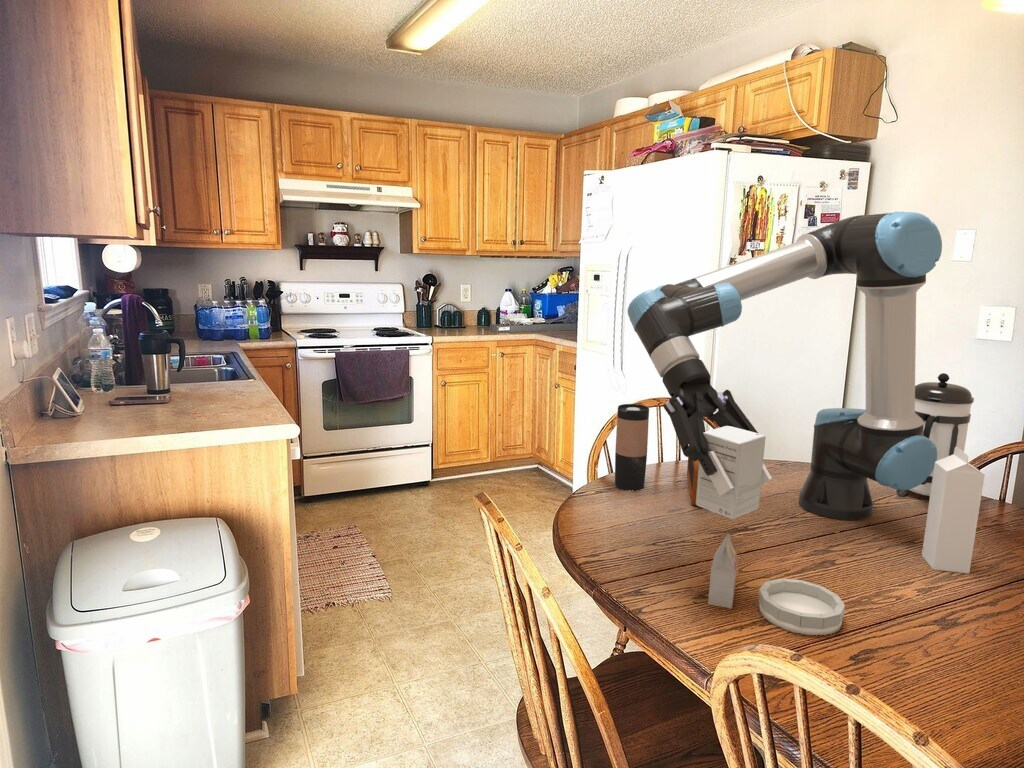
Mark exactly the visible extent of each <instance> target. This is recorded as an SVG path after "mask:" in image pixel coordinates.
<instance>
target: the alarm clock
mask: <svg viewBox="0 0 1024 768" xmlns="http://www.w3.org/2000/svg"><path fill="white" fill-rule="evenodd" d="M698 469H699V460H697V461H693V460H692V459H691V456H689V457H687V468H686V470H687V471H686V474H687V475H686V476H687V483H688V488H689V495H690V496H689V497H690V502H691V505H692V506H693V505H695V506H694V507H698V506H697V505H696V495H697V482H698Z"/></svg>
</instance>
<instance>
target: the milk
mask: <svg viewBox="0 0 1024 768" xmlns="http://www.w3.org/2000/svg"><path fill="white" fill-rule="evenodd" d="M984 483H985V473H984V472H982V471H980V470H979V469H978V468H977V467H975V466H974V465H972V464H971V463H969V454H967V453H966V452H965V451H964V452H963V451H961V450H960V449H958V448H957V447H955V449H954V454H953V455H951V456H948V457H946V458H943V459H941V460H938V461H936V462H935V464H934V471H933V479H932V486H931V493H930V496H929V501H928V508H927V516H926V520H925V521H926V523H925V530H924V537H923V543H922V551H921V556H922V558H923V559H924V560H925V563H927V564H928V565H929V567H930V568H931V569H932V570H933V571H944V572H951V573H952V572H953V573H959V574H970V572H971V566H972V559H973V553H974V547H975V539H976V533H977V527H978V520H979V519H978V518H979V513H980V509H981V508H980V506H981V501H982V495H983V494H982V493H983V488H984V487H983V486H984Z"/></svg>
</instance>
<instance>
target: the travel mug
mask: <svg viewBox="0 0 1024 768" xmlns="http://www.w3.org/2000/svg"><path fill="white" fill-rule="evenodd" d="M649 417H650V407H648V406H646V405H644V404H635V403H623V404H620V405H619V404H618V406H617V417H616V434H615V435H616V436H615V448H614V449H615V455H614V457H615V458H614V486H615V488H617V489H618V488H619V490H621V489H623V490H622V491H626V490H631V491H630V492H637V491H636V490H639V491H642V490H643V489H644V488H645V482H646V481H645V480H646V469H647V461H648V441H649V439H648V438H649V422H650V421H649ZM641 489H642V490H641ZM632 490H633V491H632Z"/></svg>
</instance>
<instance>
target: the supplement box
mask: <svg viewBox="0 0 1024 768" xmlns="http://www.w3.org/2000/svg"><path fill="white" fill-rule="evenodd" d="M705 431H706V432H704V433H703V434H704V436H705V437H706V439H707V443H708V449H709V451H708V453H709V452H710V451H714V452H715V454H716V456H717V457H718V459H719V461H720V463H721V465H722V467H723V469H724V470H725V472H726V474H727V476H728V478H729V480H730V481H731V483H732V485H733V487H734V488H733V489H732V490H730V491H729V492H727V493H726V494H725V495H723V496H720V495H719V494H718V492H717V490H716V488H715V486H714V484H713V482H712V480H711V478H710V477H709V476H707V475H706V473H705V472H704V470H703V467H702V466H701V464H700V462H699V469H698V482H697V495H696V505H697V506H696V507H700V508H702V509H706V510H707V511H710V512H712V513H714V514H718V515H720V516H722V517H725V518H728V519H729V520H730V519H731V520H735V519H738V518H740V517H742V516H744V515H746V514H747V515H748V514H749V513H751V512H754V511H756V510H758V509H760V508H759V507H760V499H761V488H762V486H761V478H762V468H763V463H764V456H765V446H766V435H764V434H761V433H759V432H758V433H755V432H751V431H747V430H743V429H739V428H735V427H732V426H724V427H716V428H713V429H710V430H705Z"/></svg>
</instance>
